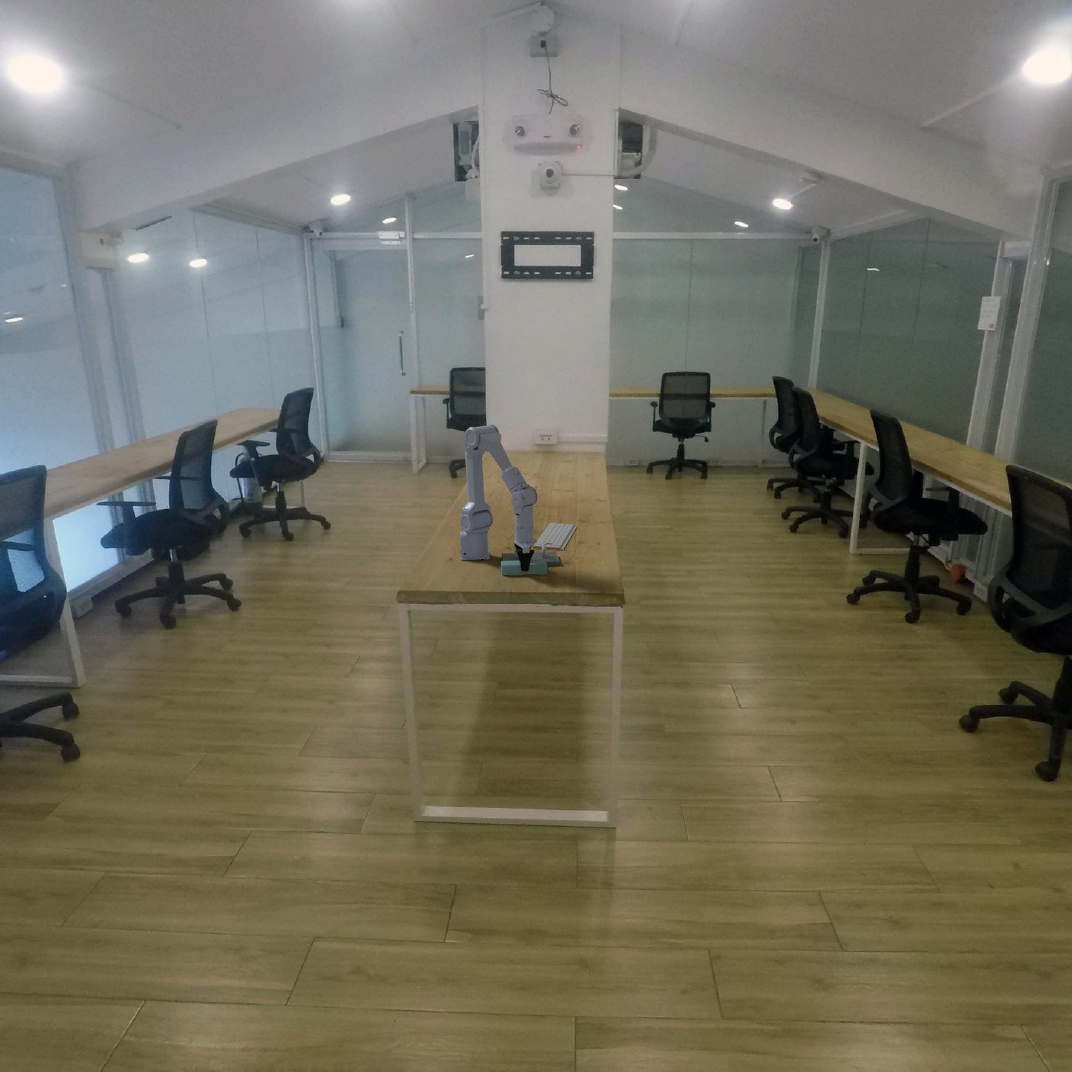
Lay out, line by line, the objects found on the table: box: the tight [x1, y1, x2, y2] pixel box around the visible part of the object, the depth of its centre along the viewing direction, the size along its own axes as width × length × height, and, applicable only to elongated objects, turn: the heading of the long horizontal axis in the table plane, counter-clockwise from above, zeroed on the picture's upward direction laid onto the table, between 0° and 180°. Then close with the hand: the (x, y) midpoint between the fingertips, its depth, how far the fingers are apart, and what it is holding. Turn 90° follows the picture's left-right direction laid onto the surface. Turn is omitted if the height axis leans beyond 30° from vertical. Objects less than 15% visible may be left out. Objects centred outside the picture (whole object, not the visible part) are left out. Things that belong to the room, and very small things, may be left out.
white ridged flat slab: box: [532, 522, 578, 551], centre depth 273 cm, size 31×3×12 cm
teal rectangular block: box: [500, 560, 548, 576], centre depth 235 cm, size 14×4×4 cm, turn 97°
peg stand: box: [501, 544, 560, 567], centre depth 245 cm, size 18×10×6 cm, turn 96°
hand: (524, 568), depth 235 cm, fingers closed on teal rectangular block, 4 cm apart
